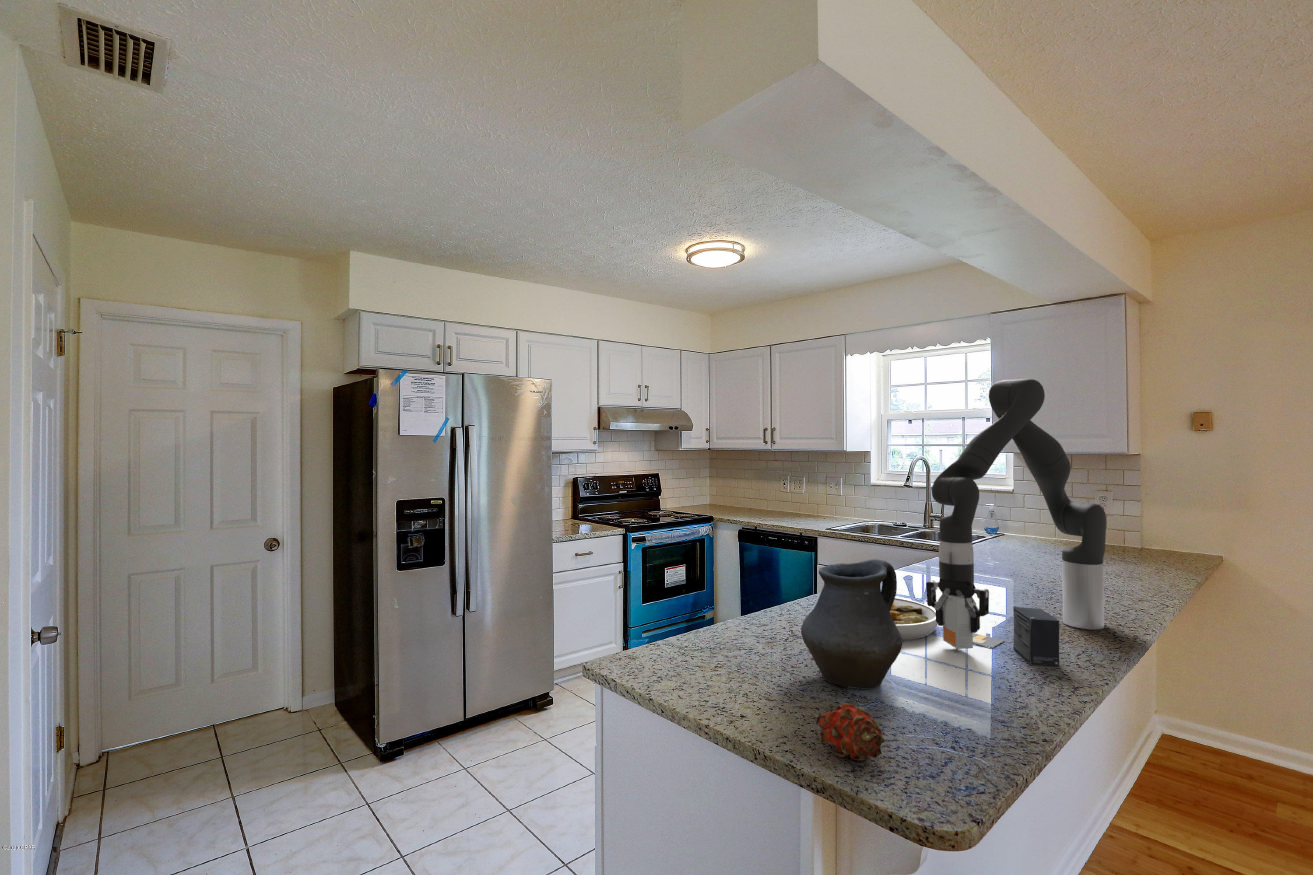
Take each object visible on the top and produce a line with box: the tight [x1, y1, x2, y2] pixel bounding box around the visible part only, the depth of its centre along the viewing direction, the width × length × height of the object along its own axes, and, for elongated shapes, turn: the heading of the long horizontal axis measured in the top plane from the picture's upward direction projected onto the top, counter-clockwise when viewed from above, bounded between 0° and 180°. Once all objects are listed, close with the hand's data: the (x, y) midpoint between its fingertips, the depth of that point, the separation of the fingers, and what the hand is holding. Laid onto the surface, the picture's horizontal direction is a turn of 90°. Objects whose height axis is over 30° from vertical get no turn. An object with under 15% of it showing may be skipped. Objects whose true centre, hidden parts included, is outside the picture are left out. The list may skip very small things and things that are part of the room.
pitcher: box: [800, 558, 904, 690], centre depth 130 cm, size 21×22×25 cm
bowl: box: [890, 597, 939, 641], centre depth 167 cm, size 30×30×8 cm
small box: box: [1012, 606, 1060, 667], centre depth 142 cm, size 11×6×10 cm, turn 168°
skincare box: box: [942, 595, 974, 650], centre depth 147 cm, size 6×4×12 cm
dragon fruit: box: [815, 702, 886, 762], centre depth 99 cm, size 8×8×12 cm
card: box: [973, 633, 1006, 649], centre depth 155 cm, size 8×10×1 cm
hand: (957, 628), depth 147 cm, fingers closed on skincare box, 7 cm apart
